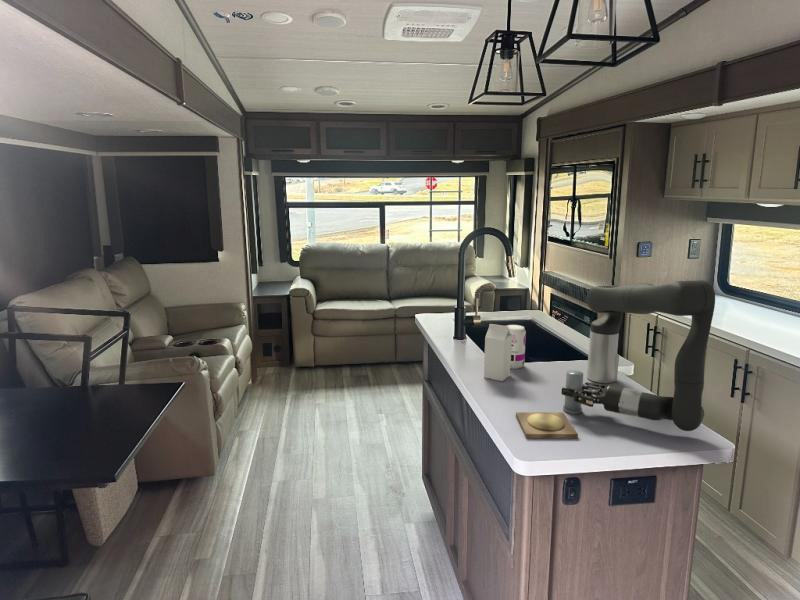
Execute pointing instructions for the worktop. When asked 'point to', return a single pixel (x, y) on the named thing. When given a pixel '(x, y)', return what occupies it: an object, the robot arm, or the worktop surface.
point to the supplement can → (517, 346)
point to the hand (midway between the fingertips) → (565, 388)
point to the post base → (545, 425)
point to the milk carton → (497, 352)
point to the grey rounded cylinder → (574, 382)
